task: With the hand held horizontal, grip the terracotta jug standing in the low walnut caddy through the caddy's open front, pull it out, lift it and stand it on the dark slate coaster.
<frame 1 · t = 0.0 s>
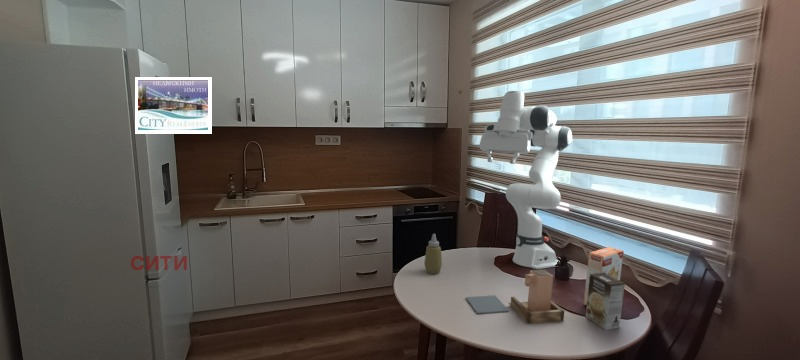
hand: (500, 162, 145), 52 cm above the table, tool tilted 20°, fingers open, 8 cm apart
coaster: (486, 305, 136), on the table
jug: (536, 292, 131), in the caddy
coffee box: (602, 322, 126), on the table
cracker box: (600, 304, 139), on the table
squeeze bottle: (432, 272, 166), on the table
caddy: (538, 311, 132), on the table
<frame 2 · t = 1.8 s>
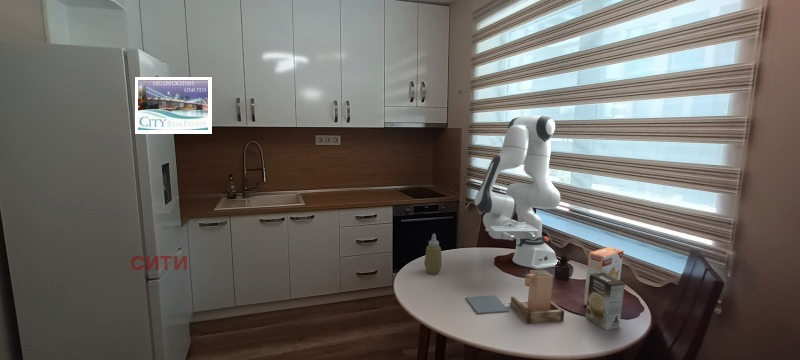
hand: (523, 238, 143), 23 cm above the table, tool horizontal, fingers open, 8 cm apart
nothing on the table moved.
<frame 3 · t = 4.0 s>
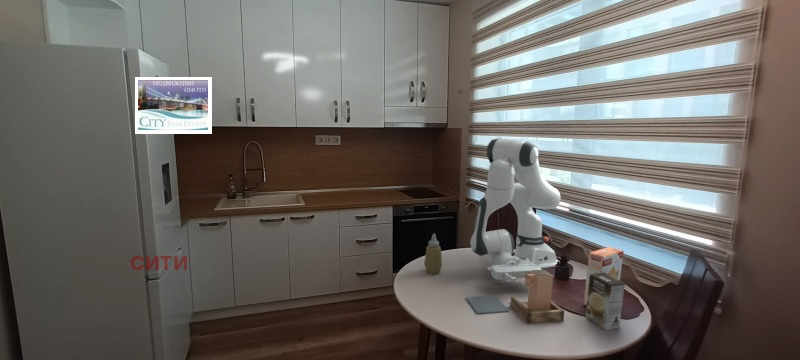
hand: (525, 279, 141), 7 cm above the table, tool horizontal, fingers open, 8 cm apart
nothing on the table moved.
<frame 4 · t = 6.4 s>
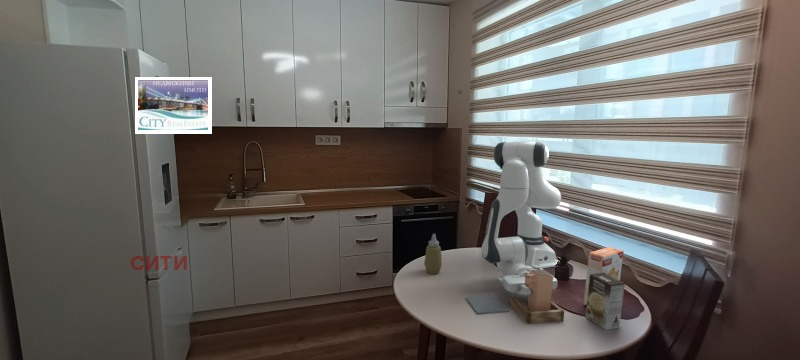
hand: (540, 292, 131), 8 cm above the table, tool horizontal, fingers closed on jug, 6 cm apart
jug: (536, 292, 131), in the caddy, touching gripper
everything else where it was.
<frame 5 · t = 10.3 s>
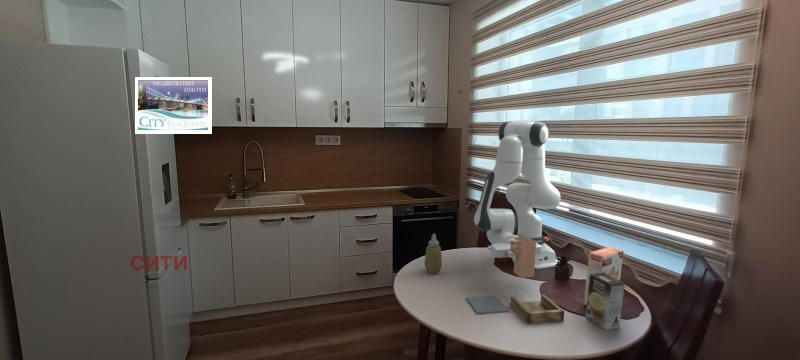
hand: (525, 256, 142), 16 cm above the table, tool horizontal, fingers closed on jug, 6 cm apart
jug: (521, 256, 142), point 16 cm above the table, touching gripper
everything else where it was.
when the fingers open (9 cm above the table, at t = 14.4 s): jug stays where it is, resting on coaster.
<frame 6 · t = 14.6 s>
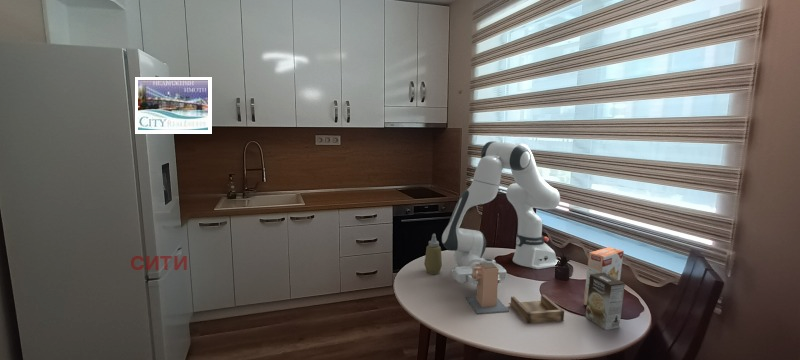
hand: (487, 282, 135), 9 cm above the table, tool horizontal, fingers open, 7 cm apart
jug: (483, 284, 135), on the coaster, point 8 cm above the table
everything else where it was.
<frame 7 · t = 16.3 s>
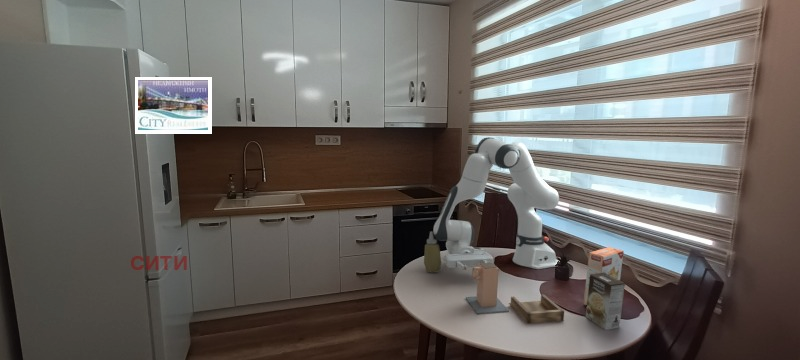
hand: (475, 267, 148), 9 cm above the table, tool horizontal, fingers open, 8 cm apart
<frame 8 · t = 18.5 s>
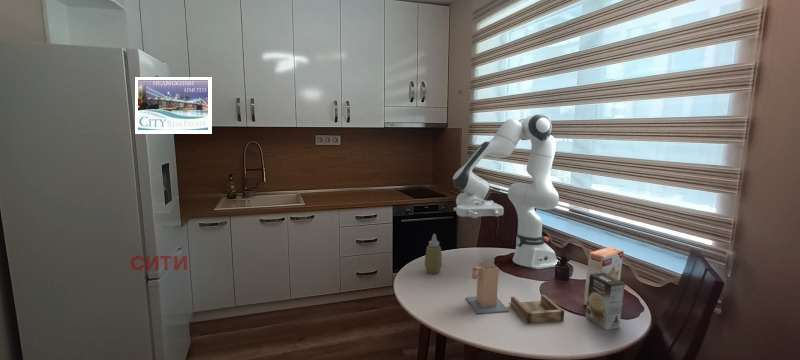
hand: (486, 214, 151), 30 cm above the table, tool horizontal, fingers open, 8 cm apart
at the end: jug inside the target area on the coaster (0.6 cm from its centre), point 8.0 cm above the coaster's base; jug tilted 0°; the gripper is holding nothing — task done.
